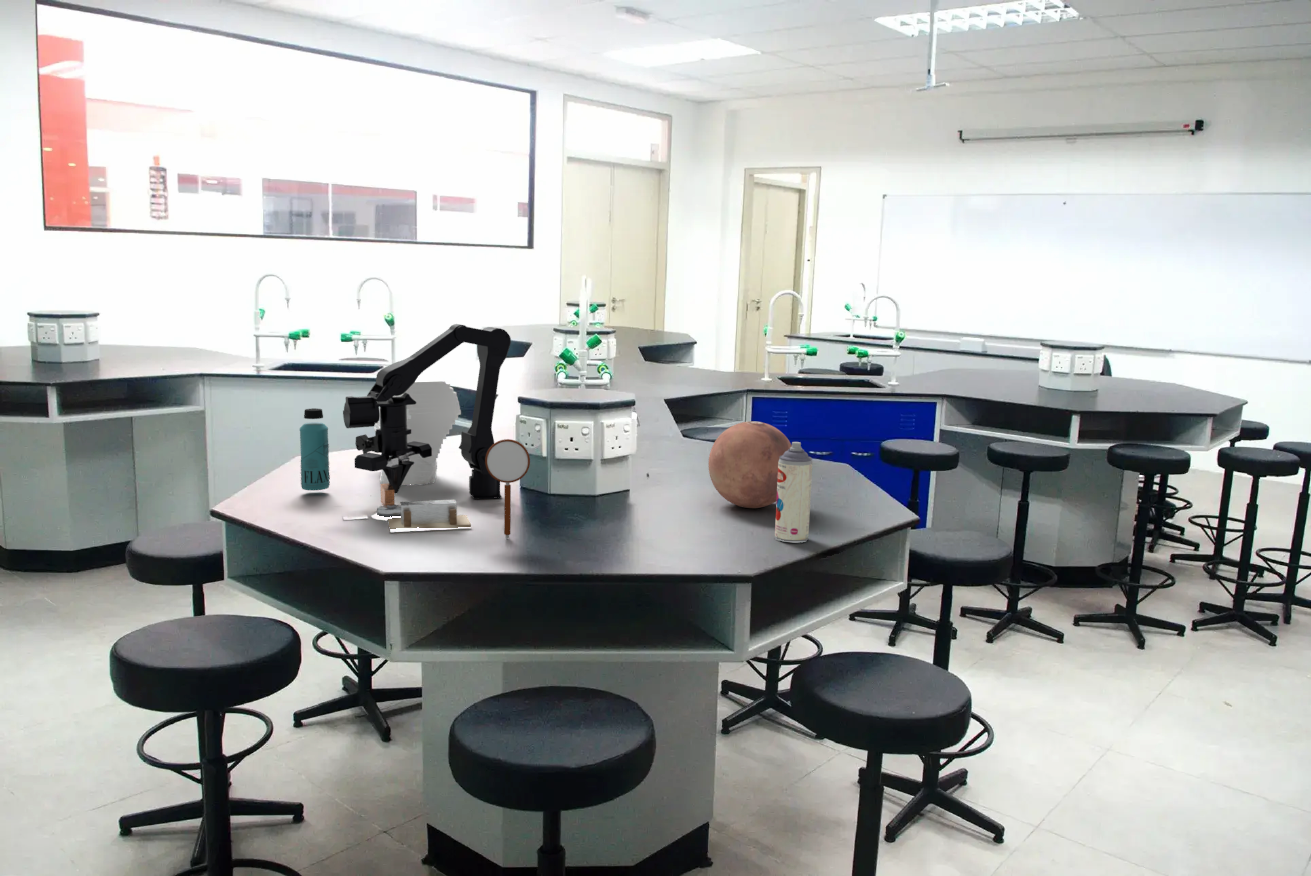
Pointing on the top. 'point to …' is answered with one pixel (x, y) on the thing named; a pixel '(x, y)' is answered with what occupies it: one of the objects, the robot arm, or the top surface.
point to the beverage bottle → (314, 452)
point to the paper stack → (427, 425)
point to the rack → (454, 523)
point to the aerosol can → (793, 494)
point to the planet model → (747, 463)
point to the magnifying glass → (507, 470)
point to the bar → (428, 511)
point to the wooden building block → (388, 502)
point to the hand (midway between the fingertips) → (395, 493)
